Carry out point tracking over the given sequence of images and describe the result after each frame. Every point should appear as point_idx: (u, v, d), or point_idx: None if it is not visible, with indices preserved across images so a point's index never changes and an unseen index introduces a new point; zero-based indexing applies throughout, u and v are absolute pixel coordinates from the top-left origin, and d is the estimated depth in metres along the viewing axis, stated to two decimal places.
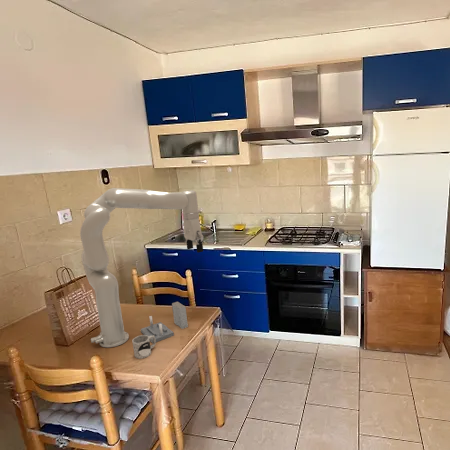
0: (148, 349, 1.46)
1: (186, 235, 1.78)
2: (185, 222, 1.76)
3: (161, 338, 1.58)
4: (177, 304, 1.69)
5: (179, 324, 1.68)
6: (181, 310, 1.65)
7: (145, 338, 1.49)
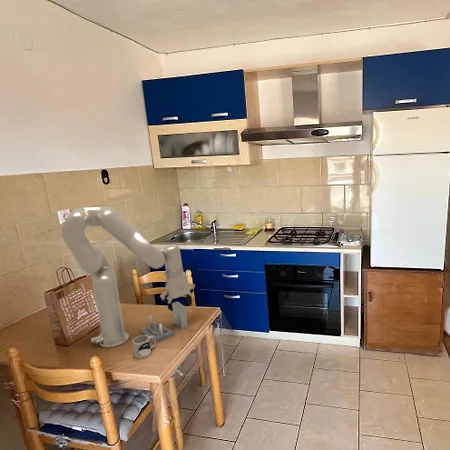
0: (148, 349, 1.46)
1: (177, 293, 1.64)
2: (175, 279, 1.63)
3: (161, 338, 1.58)
4: (177, 304, 1.69)
5: (179, 324, 1.68)
6: (181, 310, 1.65)
7: (145, 338, 1.49)
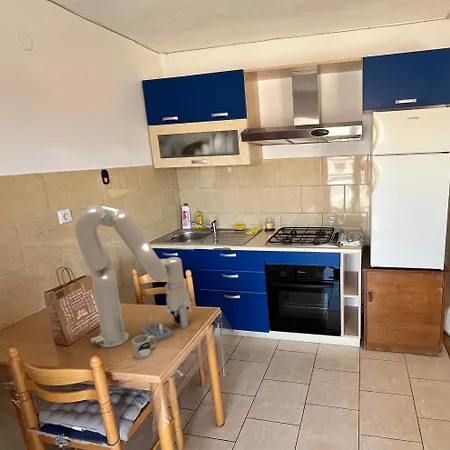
0: (148, 349, 1.46)
1: (177, 306, 1.65)
2: (176, 292, 1.64)
3: (161, 338, 1.58)
4: None
5: (179, 324, 1.68)
6: (181, 310, 1.65)
7: (145, 338, 1.49)
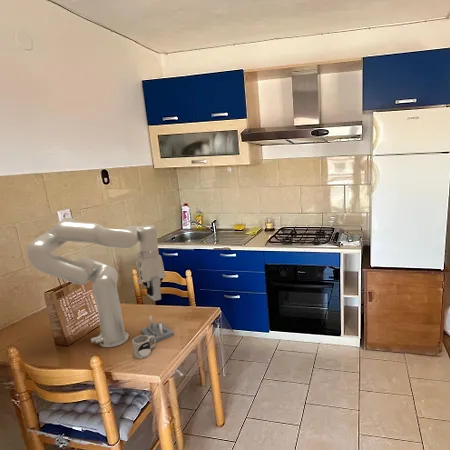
0: (148, 349, 1.46)
1: (150, 276, 1.56)
2: (149, 261, 1.55)
3: (161, 338, 1.58)
4: None
5: (152, 296, 1.60)
6: (154, 281, 1.56)
7: (145, 338, 1.49)
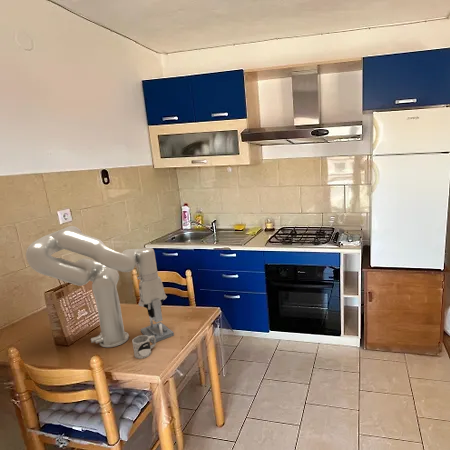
0: (148, 349, 1.46)
1: (150, 299, 1.57)
2: (149, 284, 1.56)
3: (161, 338, 1.58)
4: None
5: (153, 318, 1.61)
6: (155, 303, 1.57)
7: (145, 338, 1.49)
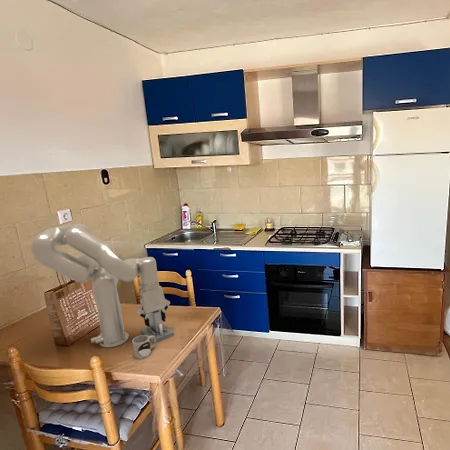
0: (148, 349, 1.46)
1: (151, 308, 1.58)
2: (150, 293, 1.57)
3: (161, 338, 1.58)
4: None
5: (154, 330, 1.62)
6: (156, 315, 1.58)
7: (145, 338, 1.49)
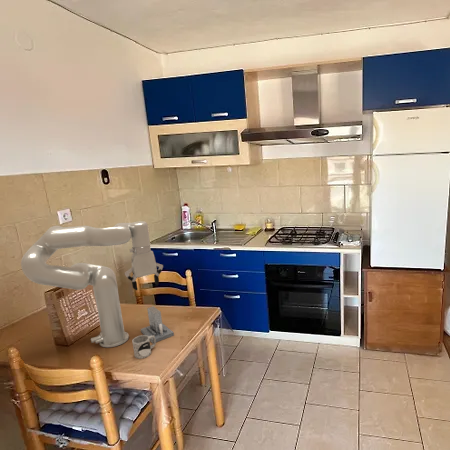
0: (148, 349, 1.46)
1: (142, 272, 1.58)
2: (141, 257, 1.57)
3: (161, 338, 1.58)
4: (152, 309, 1.63)
5: (154, 330, 1.62)
6: (156, 315, 1.58)
7: (145, 338, 1.49)
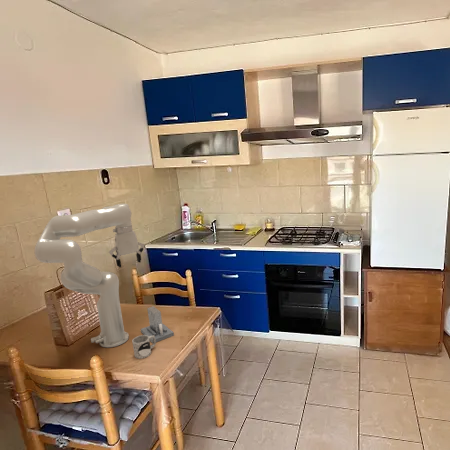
0: (148, 349, 1.46)
1: (125, 250, 1.72)
2: (123, 236, 1.71)
3: (161, 338, 1.58)
4: (152, 309, 1.63)
5: (154, 330, 1.62)
6: (156, 315, 1.58)
7: (145, 338, 1.49)
